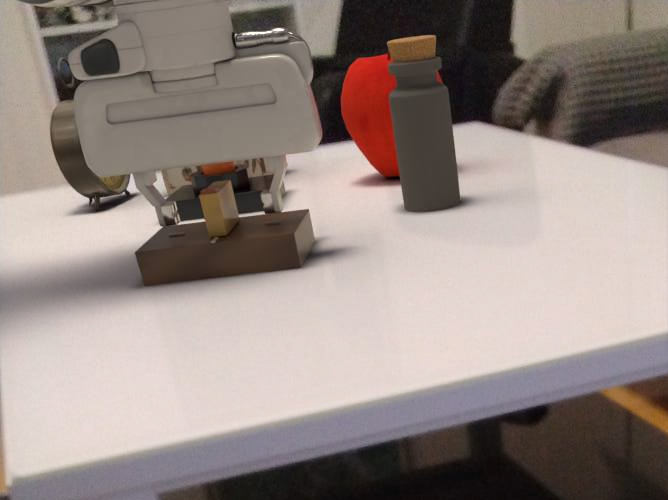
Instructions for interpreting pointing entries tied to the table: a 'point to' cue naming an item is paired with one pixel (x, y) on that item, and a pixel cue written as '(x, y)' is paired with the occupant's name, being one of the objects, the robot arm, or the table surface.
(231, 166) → the bell button
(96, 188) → the alarm clock
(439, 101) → the bottle
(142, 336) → the table surface
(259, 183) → the button base
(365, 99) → the apple
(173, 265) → the plate
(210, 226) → the tan rectangular block
